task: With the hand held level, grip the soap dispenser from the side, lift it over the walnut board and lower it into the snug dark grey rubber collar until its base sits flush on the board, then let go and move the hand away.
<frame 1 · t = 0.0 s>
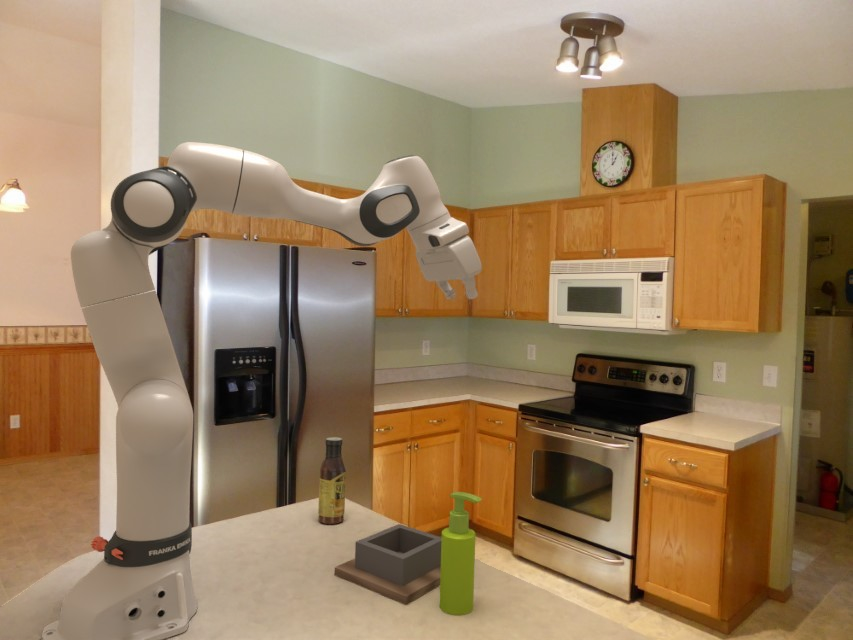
hand: (462, 297, 121), 54 cm above the counter, tool tilted 30°, fingers open, 8 cm apart
collar board: (400, 573, 118), on the counter
soap dispenser: (458, 608, 105), on the counter
sauce bottle: (331, 521, 146), on the counter
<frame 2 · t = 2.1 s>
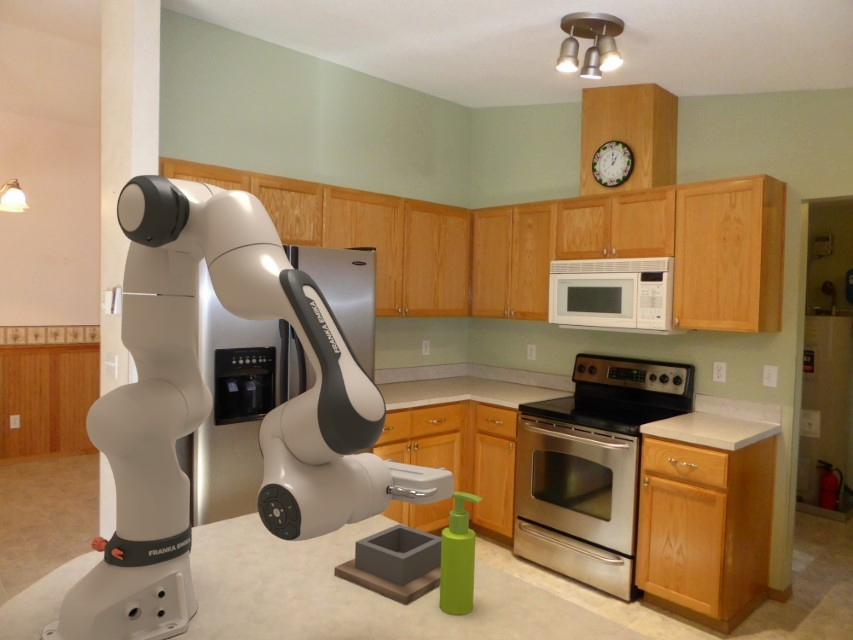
hand: (417, 468, 96), 26 cm above the counter, tool horizontal, fingers open, 8 cm apart
nothing on the counter moved.
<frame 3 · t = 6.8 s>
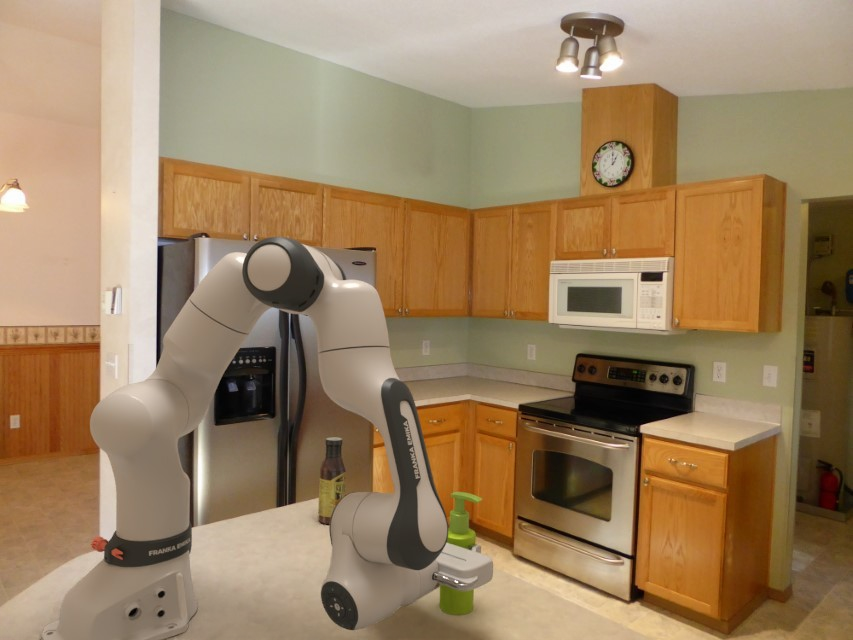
hand: (460, 543, 106), 11 cm above the counter, tool horizontal, fingers closed on soap dispenser, 6 cm apart
soap dispenser: (458, 608, 105), on the counter, touching gripper
everything else where it was.
when the fingers open (13 cm above the counter, at t = 13.9 s): soap dispenser stays where it is, resting on collar board.
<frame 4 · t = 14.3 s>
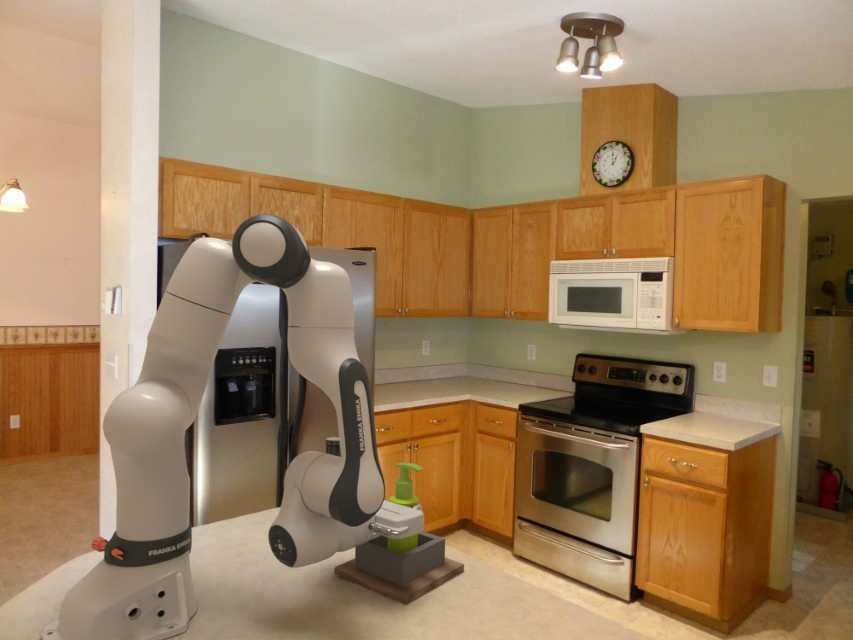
hand: (400, 503, 119), 13 cm above the counter, tool horizontal, fingers open, 8 cm apart
soap dispenser: (404, 566, 118), point 1 cm above the counter, touching collar board, gripper
everything else where it was.
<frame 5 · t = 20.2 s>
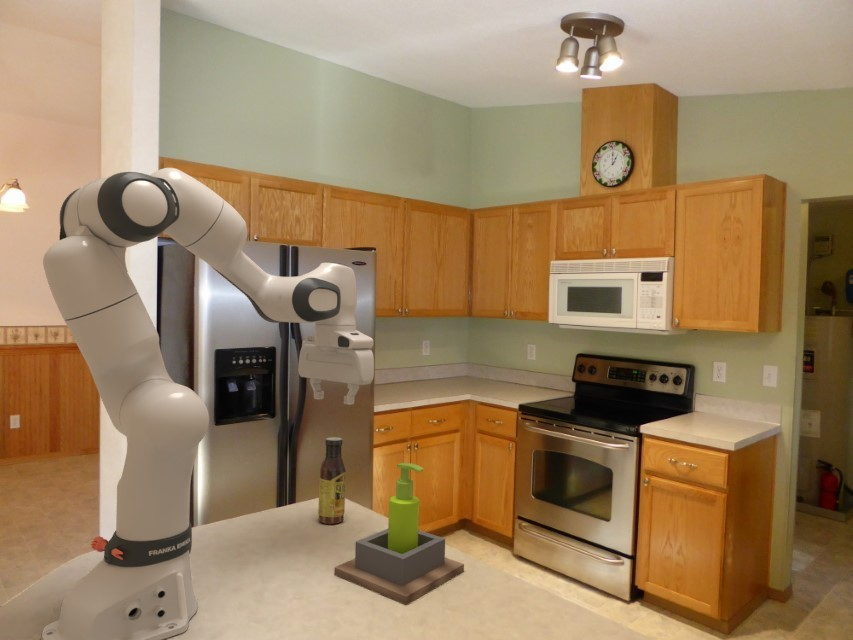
hand: (333, 401, 131), 31 cm above the counter, tool pointing down, fingers open, 8 cm apart
soap dispenser: (404, 566, 118), point 1 cm above the counter, touching collar board
everything else where it was.
at the end: soap dispenser 0.8 cm off-centre on the collar board, point 1.3 cm above the collar board's base; soap dispenser tilted 0°; the gripper is holding nothing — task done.
